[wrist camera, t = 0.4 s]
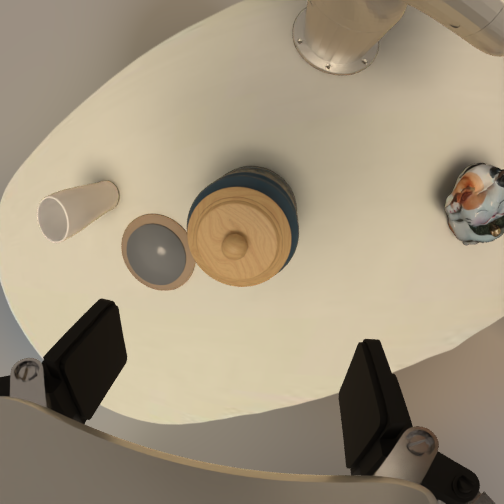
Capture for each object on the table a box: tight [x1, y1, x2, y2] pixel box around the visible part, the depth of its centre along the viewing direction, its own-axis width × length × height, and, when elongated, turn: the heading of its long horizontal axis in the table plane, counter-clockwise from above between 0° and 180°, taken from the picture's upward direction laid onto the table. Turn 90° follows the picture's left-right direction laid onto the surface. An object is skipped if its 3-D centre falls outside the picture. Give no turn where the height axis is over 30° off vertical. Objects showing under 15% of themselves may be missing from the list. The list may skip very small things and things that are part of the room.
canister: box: [187, 166, 299, 287], centre depth 37 cm, size 13×13×18 cm
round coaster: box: [122, 214, 195, 290], centre depth 49 cm, size 14×14×1 cm
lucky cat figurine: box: [444, 163, 504, 246], centre depth 34 cm, size 15×12×14 cm
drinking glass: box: [37, 181, 119, 243], centre depth 40 cm, size 7×7×15 cm
